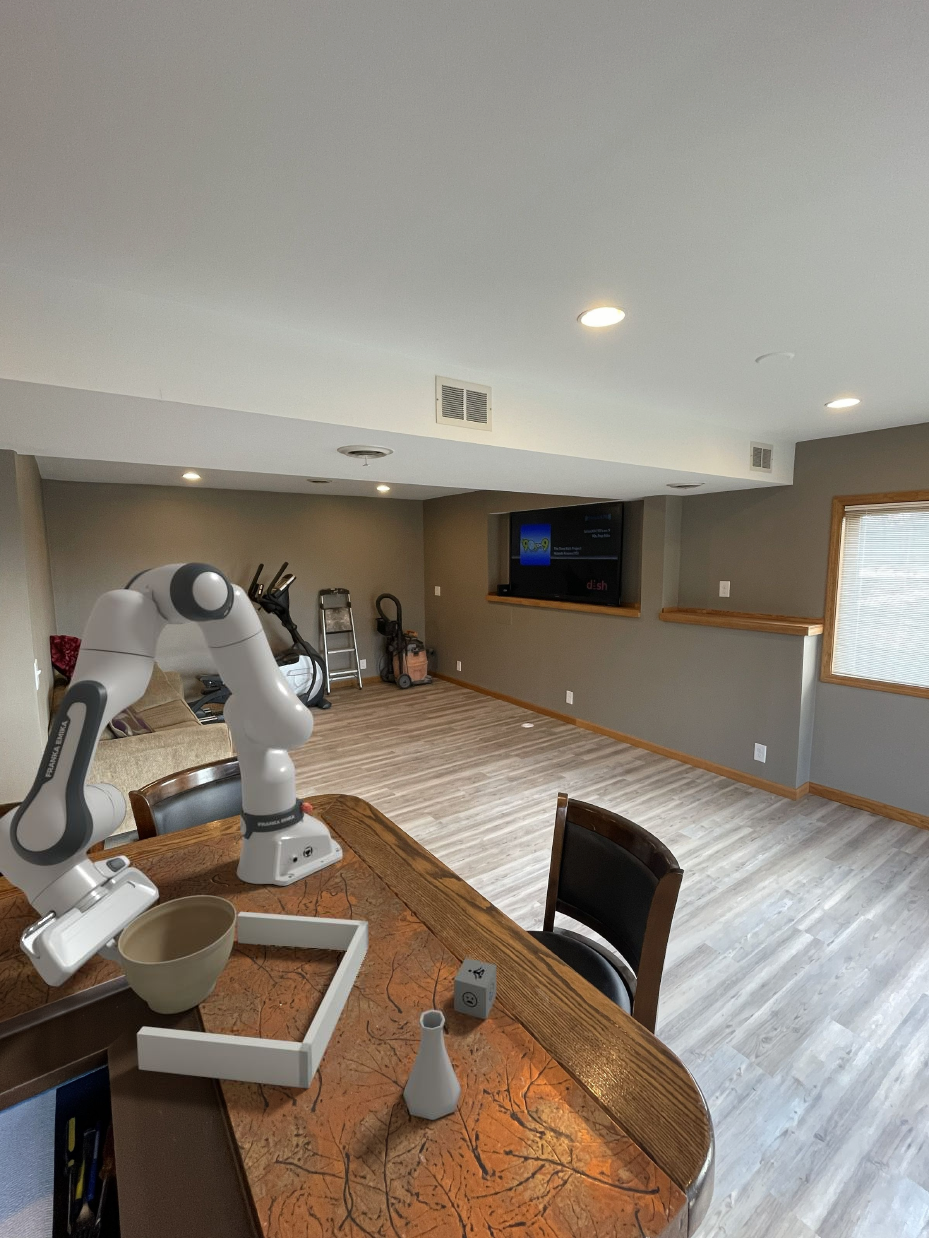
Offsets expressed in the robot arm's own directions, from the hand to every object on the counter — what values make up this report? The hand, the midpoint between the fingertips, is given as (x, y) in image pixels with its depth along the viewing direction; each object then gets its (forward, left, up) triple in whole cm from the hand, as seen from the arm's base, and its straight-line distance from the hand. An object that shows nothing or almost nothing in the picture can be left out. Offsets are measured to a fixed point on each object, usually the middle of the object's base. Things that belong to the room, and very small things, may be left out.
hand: (134, 959), depth 87 cm
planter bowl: (-5, +5, -5) cm, 9 cm away
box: (-15, +16, -5) cm, 23 cm away
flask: (-26, +43, -5) cm, 51 cm away
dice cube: (-40, +35, -5) cm, 54 cm away
